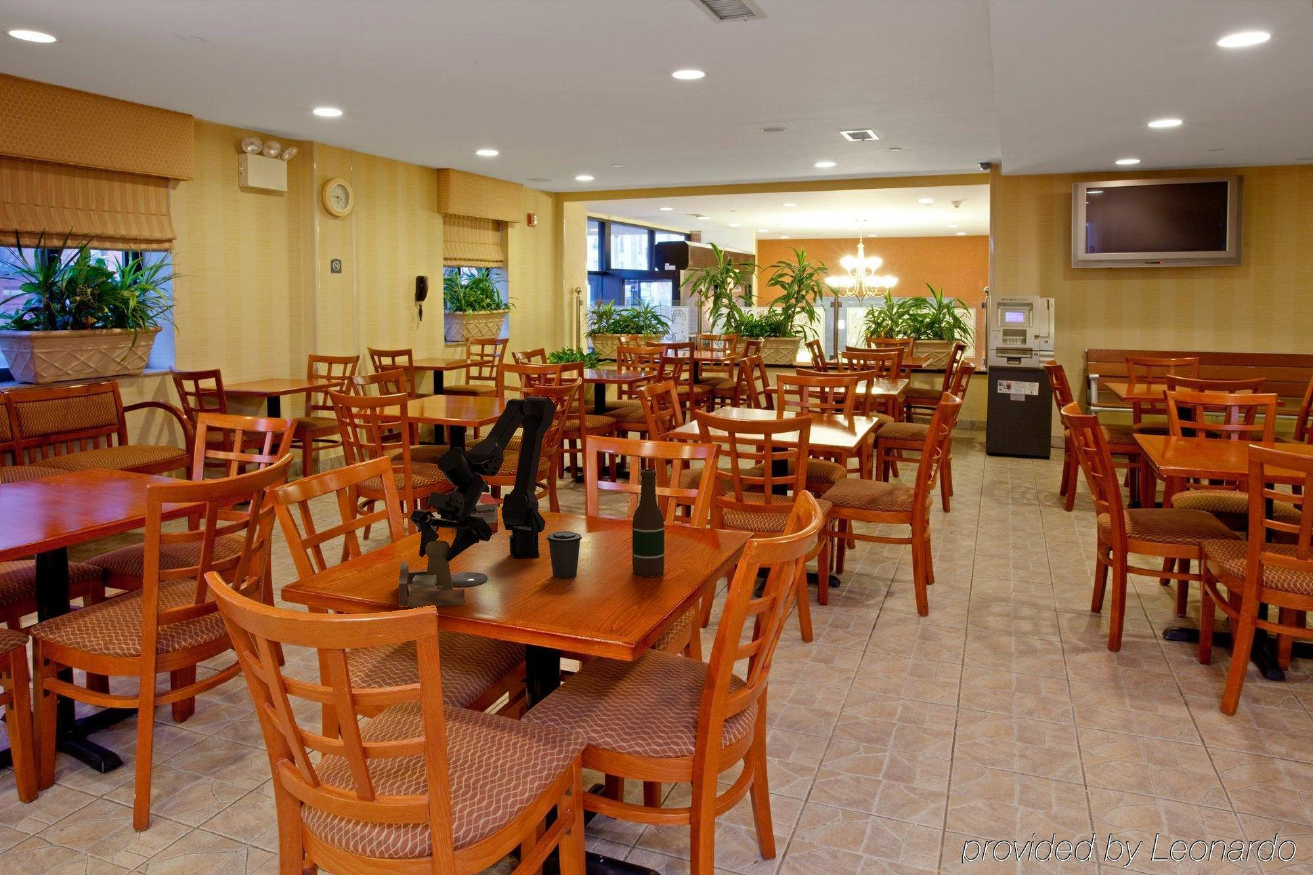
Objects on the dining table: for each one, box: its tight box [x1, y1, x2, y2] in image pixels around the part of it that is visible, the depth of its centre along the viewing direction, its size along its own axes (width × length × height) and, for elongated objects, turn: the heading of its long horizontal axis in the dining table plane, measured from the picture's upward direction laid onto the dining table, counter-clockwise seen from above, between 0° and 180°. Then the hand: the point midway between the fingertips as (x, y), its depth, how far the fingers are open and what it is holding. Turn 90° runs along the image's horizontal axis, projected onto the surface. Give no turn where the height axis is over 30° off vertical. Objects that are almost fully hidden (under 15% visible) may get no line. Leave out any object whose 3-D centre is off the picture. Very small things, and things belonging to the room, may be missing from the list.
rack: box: [398, 561, 466, 609], centre depth 204 cm, size 13×17×5 cm
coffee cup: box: [546, 530, 583, 580], centre depth 217 cm, size 8×8×10 cm
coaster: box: [451, 571, 489, 588], centre depth 214 cm, size 10×10×1 cm
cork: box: [425, 539, 454, 590], centre depth 206 cm, size 6×6×11 cm
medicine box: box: [471, 493, 499, 533], centre depth 264 cm, size 15×8×8 cm, turn 19°
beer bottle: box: [631, 469, 665, 578], centre depth 219 cm, size 8×8×24 cm
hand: (433, 558), depth 204 cm, fingers open, 7 cm apart
